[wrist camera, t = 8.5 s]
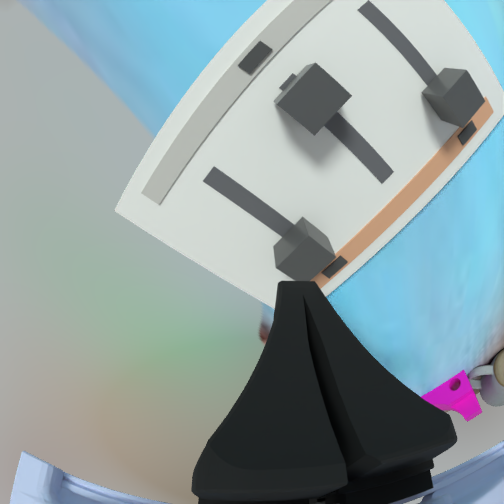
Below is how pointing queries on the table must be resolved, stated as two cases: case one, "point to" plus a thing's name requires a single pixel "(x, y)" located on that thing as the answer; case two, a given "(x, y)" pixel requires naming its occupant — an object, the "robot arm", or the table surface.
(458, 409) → the toy block
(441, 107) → the tab
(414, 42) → the switch panel
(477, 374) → the ceramic mug
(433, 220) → the table surface
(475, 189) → the table surface
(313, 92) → the tab
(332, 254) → the tab
